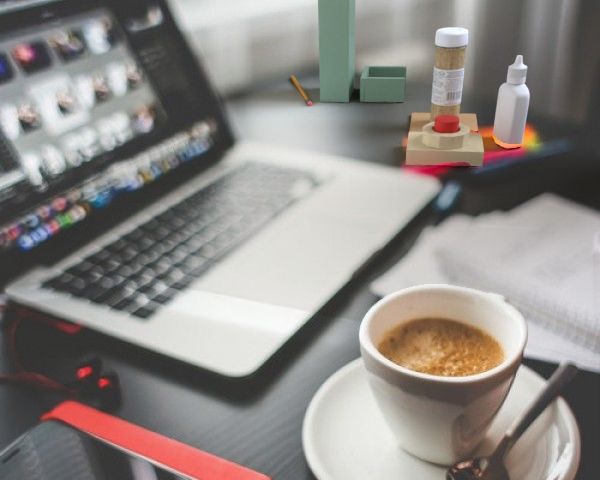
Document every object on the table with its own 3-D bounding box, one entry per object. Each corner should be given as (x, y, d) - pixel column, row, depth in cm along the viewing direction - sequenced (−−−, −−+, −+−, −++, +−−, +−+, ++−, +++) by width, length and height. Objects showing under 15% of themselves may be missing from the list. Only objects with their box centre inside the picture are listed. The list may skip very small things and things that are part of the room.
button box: (479, 148, 88) (483, 120, 86) (482, 168, 83) (486, 138, 80) (407, 146, 90) (409, 119, 88) (405, 165, 84) (407, 136, 82)
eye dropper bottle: (524, 138, 91) (538, 51, 84) (520, 151, 87) (535, 61, 80) (493, 135, 92) (505, 50, 86) (488, 148, 88) (500, 60, 81)
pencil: (312, 106, 107) (312, 101, 107) (308, 106, 107) (308, 101, 107) (293, 77, 123) (292, 73, 123) (289, 77, 123) (289, 73, 122)
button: (457, 127, 85) (459, 114, 84) (458, 135, 83) (459, 122, 82) (433, 126, 86) (435, 114, 85) (433, 135, 83) (434, 122, 82)
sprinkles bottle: (455, 117, 98) (464, 25, 90) (462, 127, 94) (472, 32, 86) (425, 119, 98) (432, 27, 90) (432, 129, 94) (439, 33, 86)
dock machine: (405, 88, 114) (412, -30, 103) (403, 103, 106) (409, -21, 96) (327, 86, 116) (325, -28, 106) (319, 102, 109) (316, -20, 98)
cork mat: (475, 117, 99) (475, 113, 99) (478, 139, 91) (479, 135, 91) (411, 116, 101) (411, 112, 101) (408, 137, 93) (409, 133, 93)
